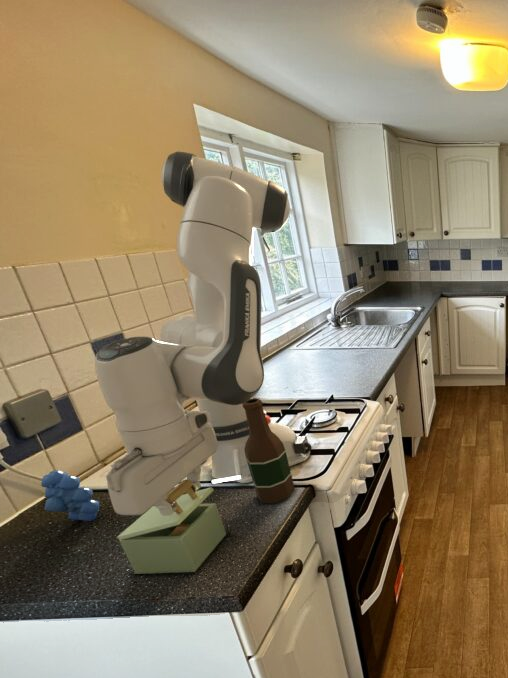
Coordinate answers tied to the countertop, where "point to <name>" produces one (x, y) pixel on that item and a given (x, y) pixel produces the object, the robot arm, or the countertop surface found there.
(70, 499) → the grapes
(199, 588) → the countertop surface
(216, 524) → the container
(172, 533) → the block
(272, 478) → the beer bottle
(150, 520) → the box lid
